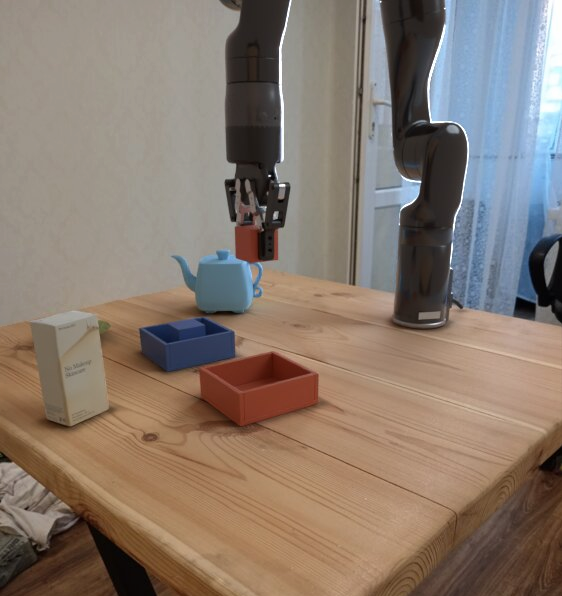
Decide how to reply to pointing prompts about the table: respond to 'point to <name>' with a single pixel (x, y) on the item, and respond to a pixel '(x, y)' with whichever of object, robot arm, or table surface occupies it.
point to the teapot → (222, 282)
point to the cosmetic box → (70, 366)
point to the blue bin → (187, 346)
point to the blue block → (185, 330)
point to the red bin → (258, 387)
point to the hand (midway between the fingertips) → (256, 256)
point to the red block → (250, 244)
